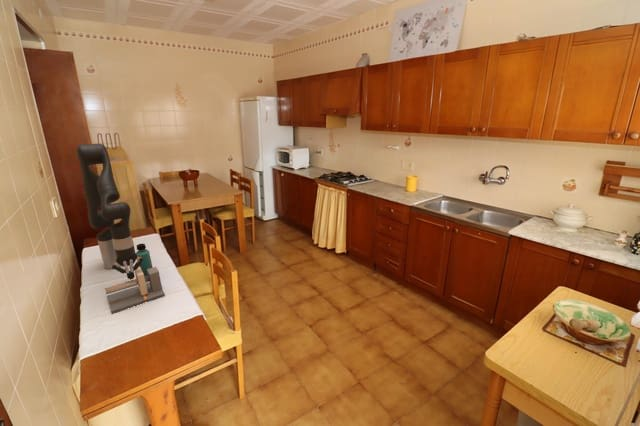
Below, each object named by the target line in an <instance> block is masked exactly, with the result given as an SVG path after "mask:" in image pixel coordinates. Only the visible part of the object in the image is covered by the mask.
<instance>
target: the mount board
mask: <svg viewBox="0 0 640 426" xmlns="http://www.w3.org/2000/svg"><path fill="white" fill-rule="evenodd" d="M147 272H148V275H149V277H150V281H149V282H146V287H147V292H148V294H145V295H142V294H141V292H140V290H139V288H138V285H136V286H133V287H129V288H126V289H123V290H120V291H116V292H113V293H110V294H107V295H106V298H107V302H108V305H109V306H108V307H109V309H110V313H111V314H110V315H114V313H115V314H116V313H120V312H123V311H126V310H128V308H129V309H132V308H134V307H133V306H135V307H137V305H138V306H140V304H141V305H143V303H144V304H146V303H145V302H147V303H149V302H153V301H155V300H157V299H161V298H163V297H166V294H165V292H164V290H163V287H162V281H161V276H160V271H159V270H158V267H156V266H153V268H150V269H147ZM131 307H132V308H131Z"/></svg>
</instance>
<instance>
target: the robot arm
mask: <svg viewBox="0 0 640 426" xmlns="http://www.w3.org/2000/svg"><path fill="white" fill-rule="evenodd" d="M76 153H77V157H78V161H79V165H80V166H79V167H80V169H81V174H82V181H83V190H84V195H85V200H86V205H87V217H88V222H89V223H88V224H89V225H90V228H92V229H94V230H97V229H103V228H104V229H103V230H102V231H100V232H98V233H97V234H96V240H97V243H98V248H99V251H100V255H101V258H102V263H103V266H104V269H107V270H112V269H113V270H115V271H117V272H119V273H121V274H126V277H127V279H128V280H129V281H131V280H134V279H135V278H136V275H135V271H134V270H137V269H138V267H139V266H140V264H141V263H142V261H143V258H142V257H138V256H137V254H136V250H135V243H134V240H133V237H132V232H131V229H130V217H131V207H130V204H128V203H127V202H125V201H119V200H120V198H121V196H120V195H121V194H120V192H119V189H118V187H117V185H116V181H115V178H114V173H113V168H112V164H111V160H110V156H109V151H108V150H107V147H106V146H105V145H104V144H103V143H89V144H88V143H86V144H78V146H77V147H76ZM93 165H94V166H95V165H102V170H101V172H100V175H99V174H98V173H96V172H94V170H93V169H92V168H91V167H90V166H93ZM117 201H119V202H117ZM100 207H101V208H100ZM99 209H101V210H99ZM116 220H119V221H118V222H116V223H115V221H116ZM122 267H123V268H122Z"/></svg>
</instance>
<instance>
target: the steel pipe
mask: <svg viewBox="0 0 640 426" xmlns="http://www.w3.org/2000/svg"><path fill="white" fill-rule="evenodd" d="M144 278H145V282H146V283H149V281H150V277H149V275H147V276H144ZM138 285H139V282H138V279H136V278H133V279H131V280H127V281H125V282H121V283H117V284H114V285H111V286H108V287H104V290H105V291H104V292H105V294H106V296H107V295H111V294H114V293H117V292H120V291H124V290H127V289H130V288H133V287H136V286H138Z"/></svg>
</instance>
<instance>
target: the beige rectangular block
mask: <svg viewBox="0 0 640 426" xmlns="http://www.w3.org/2000/svg"><path fill="white" fill-rule="evenodd" d="M134 275H135V279H138V282H139V285H137V286H138V288H139V290H140V292H141V294H142V295H145V294H148V292H147V287H146V283H147V282H145V278H144V274H143V272H142V270H141V268H140V267H138V269H137V270H134Z"/></svg>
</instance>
